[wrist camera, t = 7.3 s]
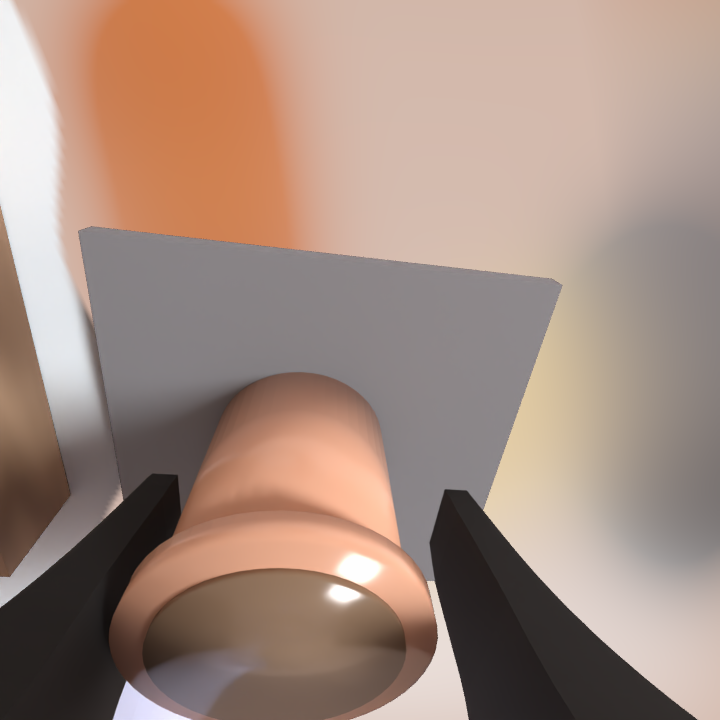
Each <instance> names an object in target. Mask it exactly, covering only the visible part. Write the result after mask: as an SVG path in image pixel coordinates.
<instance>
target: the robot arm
mask: <svg viewBox="0 0 720 720" xmlns="http://www.w3.org/2000/svg"><path fill="white" fill-rule="evenodd" d="M180 517H181V505H180V493H179V482H178V475H173V474H155V473H152V474H151V475H150V476H148V477H147V478H146V479H145V480H144V481H143V482H142V483H141V484H140V485H139V486H138V487H137V488H136V489H135V490H134V491H133V492H132V493H131V494H130V495H129V496H128V497H127V498H126V499H125V500H124V501H123V502H122V503H121V504H120V505H119V506H118V507H117V508H116V509H115V510H114V511H112V512H111V513H110V514H109V515H108V516H107V517H106V518H105V519H104V520H103V521H102V522H101V523H100V524H99V525H98V526H97V527H95V528H94V529H93V530H92V531H91V532H90V533H89V534H88V535H87V536H86V537H85V538H83V539H82V540H81V541H80V542H79V543H78V544H77V545H76V546H75V547H74V548H72V549H71V550H70V551H69V552H68V553H67V554H65V555H64V556H63V557H62V558H61V559H60V560H58V561H57V562H56V563H55V564H54V565H53V566H51V567H50V568H49V569H48V570H47V571H46V572H44V573H43V574H42V575H41V576H40V577H38V578H37V579H36V580H35V581H34V582H32V583H31V584H30V585H29V586H27V587H26V588H25V589H24V590H22V591H21V592H20V593H19V594H17V595H16V596H15V597H14V598H12V599H11V600H10V601H8V602H7V603H6V604H5V605H3V606H2V607H1V608H0V720H191V719H188V718H186V717H183V716H180V715H178V714H175V713H173V712H171V711H169V710H166V709H164V708H162V707H160V706H158V705H157V704H155V703H153V702H152V701H150V700H149V699H147V698H145V697H144V696H143V695H142V694H140V693H139V692H138V691H137V690H135V689H134V688H133V687H132V686H131V685H130V684H129V683H128V682H127V681H126V680H125V679H124V677H123V676H122V674H121V673H120V671H119V670H118V669H117V667H116V665H115V663H114V660H113V658H112V656H111V651H110V646H109V628H110V625H111V621H112V618H113V615H114V613H115V611H116V608H117V606H118V604H119V602H120V600H121V598H122V595H123V593H124V591H125V589H126V587H127V585H128V582H129V581H130V579H131V577H132V575H133V573H134V571H135V569H136V568H137V567H138V566H139V564H140V563H141V562H142V561H143V560H144V558H145V557H146V556H147V555H148V554H150V553H151V552H152V551H153V550H154V549H155V548H156V547H158V546H159V545H160V544H162V543H163V542H165V541H166V540H168V539H170V538H171V537H172V536H173V534H174V531H175V529H176V527H177V524H178V522H179V519H180ZM429 544H430V552H431V559H432V566H433V572H434V578H435V584H436V588H437V592H438V596H439V599H440V603H441V607H442V611H443V615H444V618H445V622H446V626H447V630H448V633H449V637H450V640H451V645H452V648H453V652H454V656H455V659H456V663H457V666H458V671H459V674H460V678H461V683H462V687H463V692H464V696H465V701H466V706H467V711H468V717H469V720H697V719H696V718H695V717H693V716H692V715H691V714H689V713H688V712H687V711H685V710H684V709H683V708H681V707H680V706H679V705H678V704H676V703H675V702H674V701H672V700H671V699H670V698H669V697H667V696H666V695H665V694H664V693H663V692H661V691H660V690H658V688H656V687H655V686H654V685H653V684H651V683H650V682H649V681H648V680H647V679H645V678H644V677H643V676H642V675H641V674H639V673H638V672H637V671H636V670H635V669H634V668H633V667H631V666H630V665H629V664H628V663H627V662H625V661H624V660H623V659H622V658H621V657H620V656H618V655H617V654H616V653H615V652H614V651H613V650H612V649H611V648H609V647H608V646H607V645H606V644H605V643H604V642H603V641H602V640H601V639H600V638H598V637H597V636H596V635H595V634H594V633H593V632H592V631H591V630H590V629H589V628H588V627H587V626H586V625H585V624H584V623H583V622H582V621H581V620H580V619H579V618H578V617H577V616H576V615H574V614H573V613H572V612H571V611H570V610H569V609H568V608H567V607H566V606H565V605H564V604H563V603H562V602H561V601H560V599H558V597H557V596H556V595H555V594H554V593H553V592H552V591H551V590H550V589H549V588H548V587H547V586H546V585H545V583H544V582H543V581H542V580H541V579H540V578H539V577H538V576H537V575H536V574H535V573H534V572H533V570H532V569H531V568H530V567H529V566H528V565H527V564H526V562H525V561H524V560H523V559H522V558H521V556H519V554H518V553H517V552H516V551H515V549H514V548H513V547H512V546H511V545H510V543H509V542H508V541H507V540H506V539H505V537H504V536H503V535H502V534H501V532H500V531H499V530H498V529H497V527H496V526H495V525H494V524H493V522H492V521H491V520H490V519H489V518H488V516H487V515H486V514H485V513H484V511H483V510H482V509H481V507H480V506H479V505H478V504H477V502H476V501H475V500H474V499H473V497H472V496H471V495H470V494H469V492H468V491H467V490H451V489H445V490H444V493H443V497H442V500H441V504H440V507H439V511H438V514H437V518H436V521H435V525H434V528H433V532H432V535H431V539H430V542H429Z"/></svg>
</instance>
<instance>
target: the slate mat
mask: <svg viewBox="0 0 720 720" xmlns="http://www.w3.org/2000/svg"><path fill="white" fill-rule="evenodd" d="M78 233H79V239H80V244H81V251H82V256H83V263H84V268H85V274H86V280H87V286H88V292H89V298H90V303H91V310H92V316H93V322H94V328H95V334H96V340H97V346H98V352H99V358H100V363H101V369H102V375H103V381H104V387H105V393H106V399H107V405H108V411H109V417H110V423H111V429H112V435H113V441H114V447H115V452H116V458H117V464H118V470H119V476H120V482H121V488H122V494H123V500H125V499H126V498H127V497H128V496H129V495H130V494H131V493H132V492H133V491H134V490H135V489H136V488H137V487H138V486H139V485H140V484H141V483H142V482H143V481H144V480H145V479H146V478H147V477H148V476H150V475H151V474H152V473H155V474H173V475H178V482H179V493H180V505H181V514H182V512H183V509H184V507H185V504H186V502H187V499H188V497H189V494H190V492H191V490H192V487H193V485H194V482H195V480H196V477H197V475H198V472H199V470H200V467H201V465H202V462H203V460H204V458H205V455H206V453H207V450H208V448H209V445H210V443H211V440H212V438H213V435H214V433H215V430H216V428H217V425H218V423H219V421H220V418H221V416H222V414H223V412H224V410H225V408H226V406H227V405H228V404H229V402H230V401H231V400H232V399H233V398H234V397H235V396H236V395H237V394H238V393H239V392H240V391H241V390H243V389H244V388H246V387H247V386H248V385H250V384H252V383H254V382H256V381H258V380H260V379H263V378H266V377H268V376H272V375H276V374H281V373H289V372H306V373H315V374H319V375H324V376H327V377H330V378H333V379H336V380H338V381H340V382H342V383H344V384H346V385H348V386H349V387H351V388H353V389H354V390H356V391H357V392H358V393H359V394H360V395H361V396H363V397H364V399H365V400H366V401H367V402H368V403H369V404H370V406H371V407H372V409H373V410H374V412H375V414H376V416H377V418H378V421H379V424H380V428H381V433H382V439H383V445H384V451H385V457H386V462H387V468H388V474H389V480H390V486H391V492H392V498H393V503H394V509H395V515H396V521H397V527H398V533H399V539H400V544H401V549H403V550H404V551H405V552H406V553H407V554H408V555H409V556H410V557H411V558H412V559H413V560H414V562H415V563H416V564H417V566H418V567H419V568H420V570H421V571H422V573H423V575H424V577H425V579H426V581H435V578H434V572H433V566H432V559H431V552H430V544H429V542H430V539H431V535H432V532H433V528H434V525H435V521H436V518H437V514H438V511H439V507H440V504H441V500H442V497H443V493H444V490H445V489H451V490H467V491H468V492H469V494H470V495H471V496H472V497H473V499H474V500H475V501H476V502H477V504H478V505H479V506H480V507H481V509H482V510H483V509H484V506H485V503H486V500H487V498H488V495H489V492H490V489H491V486H492V483H493V480H494V477H495V475H496V472H497V469H498V466H499V464H500V460H501V458H502V455H503V452H504V449H505V447H506V444H507V441H508V438H509V435H510V432H511V430H512V427H513V424H514V421H515V418H516V415H517V413H518V410H519V407H520V404H521V401H522V398H523V396H524V393H525V389H526V387H527V384H528V381H529V379H530V376H531V373H532V370H533V367H534V364H535V362H536V359H537V356H538V353H539V350H540V347H541V344H542V342H543V339H544V336H545V333H546V330H547V327H548V325H549V322H550V319H551V316H552V313H553V310H554V308H555V305H556V302H557V299H558V296H559V293H560V291H561V288H562V285H561V284H559V283H558V282H556V281H555V280H553V279H549V278H540V277H531V276H522V275H514V274H505V273H496V272H488V271H478V270H470V269H461V268H452V267H444V266H434V265H426V264H417V263H408V262H399V261H391V260H382V259H373V258H364V257H356V256H347V255H338V254H329V253H320V252H312V251H303V250H294V249H284V248H277V247H267V246H259V245H250V244H241V243H232V242H224V241H214V240H206V239H197V238H189V237H179V236H170V235H162V234H153V233H145V232H135V231H127V230H118V229H109V228H100V227H92V226H91V227H89V228H85V229H82V230H79V231H78Z"/></svg>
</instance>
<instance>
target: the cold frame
mask: <svg viewBox="0 0 720 720" xmlns="http://www.w3.org/2000/svg"><path fill="white" fill-rule="evenodd" d="M69 497H70V491H69V487H68V483H67V478H66V474H65V470H64V466H63V462H62V458H61V454H60V450H59V446H58V441H57V437H56V433H55V429H54V425H53V421H52V417H51V413H50V408H49V404H48V400H47V396H46V392H45V388H44V384H43V380H42V376H41V371H40V367H39V363H38V359H37V355H36V351H35V347H34V343H33V338H32V334H31V330H30V326H29V322H28V318H27V314H26V310H25V306H24V301H23V297H22V293H21V289H20V285H19V281H18V277H17V273H16V268H15V264H14V260H13V256H12V252H11V248H10V244H9V240H8V236H7V231H6V227H5V223H4V219H3V215H2V211H1V207H0V577H10V576H11V575H12V573H13V572H14V570H15V569H16V568H17V566H18V565H19V564H20V562H21V561H22V560H23V558H24V557H25V556H26V554H27V553H28V552H29V550H30V549H31V548H32V546H33V545H34V544H35V542H36V541H37V540H38V538H39V537H40V536H41V534H42V533H43V531H44V530H45V529H46V527H47V526H48V525H49V523H50V522H51V521H52V519H53V518H54V517H55V515H56V514H57V513H58V511H59V510H60V509H61V507H62V506H63V505H64V503H65V502H66V501H67V499H68V498H69Z"/></svg>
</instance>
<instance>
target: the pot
mask: <svg viewBox="0 0 720 720" xmlns="http://www.w3.org/2000/svg"><path fill="white" fill-rule="evenodd" d="M437 636H438V635H437V624H436V619H435V614H434V610H433V605H432V600H431V596H430V592H429V588H428V585H427V581H426V579H425V577H424V575H423V573H422V571H421V570H420V568H419V567H418V566H417V564H416V563H415V562H414V560H413V559H412V558H411V557H410V556H409V555H408V554H407V553H406V552H405V551H404V550H403V549H401V544H400V539H399V533H398V527H397V521H396V515H395V509H394V503H393V498H392V492H391V486H390V480H389V474H388V468H387V462H386V457H385V451H384V445H383V439H382V433H381V428H380V424H379V421H378V418H377V416H376V414H375V412H374V410H373V409H372V407H371V406H370V404H369V403H368V402H367V401H366V400H365V399H364V397H363V396H361V395H360V394H359V393H358V392H357V391H356V390H354V389H353V388H351V387H349V386H348V385H346V384H344V383H342V382H340V381H338V380H336V379H333V378H330V377H327V376H324V375H319V374H315V373H306V372H289V373H281V374H276V375H272V376H268V377H266V378H263V379H260V380H258V381H256V382H254V383H252V384H250V385H248V386H247V387H246V388H244V389H243V390H241V391H240V392H239V393H238V394H237V395H236V396H235V397H234V398H233V399H232V400H231V401H230V402H229V404H228V405H227V406H226V408H225V410H224V412H223V414H222V416H221V418H220V421H219V423H218V425H217V428H216V430H215V433H214V435H213V438H212V440H211V443H210V445H209V448H208V450H207V453H206V455H205V458H204V460H203V462H202V465H201V467H200V470H199V472H198V475H197V477H196V480H195V482H194V485H193V487H192V490H191V492H190V494H189V497H188V499H187V502H186V504H185V507H184V509H183V512H182V514H181V517H180V519H179V522H178V524H177V527H176V529H175V531H174V534H173V536H172V537H171V538H170V539H168V540H166V541H165V542H163V543H162V544H160V545H159V546H158V547H156V548H155V549H154V550H153V551H152V552H151V553H150V554H148V555H147V556H146V557H145V558H144V560H143V561H142V562H141V563H140V564H139V566H138V567H137V568H136V569H135V571H134V573H133V575H132V577H131V579H130V581H129V582H128V585H127V587H126V589H125V591H124V593H123V595H122V598H121V600H120V602H119V604H118V606H117V608H116V611H115V613H114V615H113V618H112V621H111V625H110V628H109V646H110V651H111V656H112V658H113V660H114V663H115V665H116V667H117V669H118V670H119V671H120V673H121V674H122V676H123V677H124V679H125V680H126V681H127V682H128V683H129V684H130V685H131V686H132V687H133V688H134V689H135V690H137V691H138V692H139V693H140V694H142V695H143V696H144V697H145V698H147V699H149V700H150V701H152V702H153V703H155V704H157V705H158V706H160V707H162V708H164V709H166V710H169V711H171V712H173V713H175V714H178V715H180V716H183V717H186V718H188V719H191V720H350V719H353V718H356V717H359V716H361V715H364V714H367V713H369V712H371V711H373V710H376V709H378V708H380V707H382V706H384V705H385V704H387V703H389V702H391V701H392V700H394V699H396V698H397V697H398V696H400V695H401V694H403V693H404V692H405V691H406V690H407V689H409V688H410V687H411V686H412V685H413V684H414V683H416V681H417V680H418V679H419V678H420V677H421V676H422V675H423V673H424V672H425V670H426V669H427V667H428V666H429V664H430V662H431V660H432V658H433V656H434V653H435V650H436V644H437V639H438V637H437Z"/></svg>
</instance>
